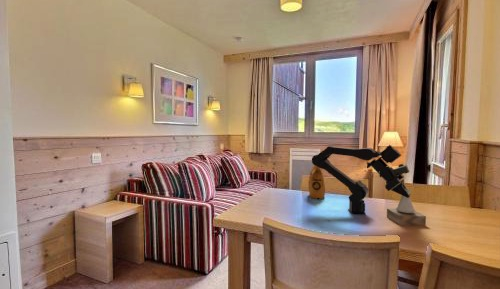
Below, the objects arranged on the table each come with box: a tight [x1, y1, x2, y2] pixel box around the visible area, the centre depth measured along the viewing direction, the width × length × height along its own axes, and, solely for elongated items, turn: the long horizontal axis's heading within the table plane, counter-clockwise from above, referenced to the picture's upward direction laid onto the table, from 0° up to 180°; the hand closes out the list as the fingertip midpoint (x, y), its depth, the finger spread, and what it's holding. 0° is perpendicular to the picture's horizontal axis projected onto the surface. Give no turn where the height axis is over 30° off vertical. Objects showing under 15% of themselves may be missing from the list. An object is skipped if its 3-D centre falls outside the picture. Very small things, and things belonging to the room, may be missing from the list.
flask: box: [395, 188, 416, 213], centre depth 118 cm, size 7×7×10 cm
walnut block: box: [386, 208, 427, 226], centre depth 118 cm, size 11×11×4 cm
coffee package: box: [308, 164, 326, 199], centre depth 161 cm, size 10×12×22 cm
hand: (409, 196), depth 117 cm, fingers closed on flask, 3 cm apart
